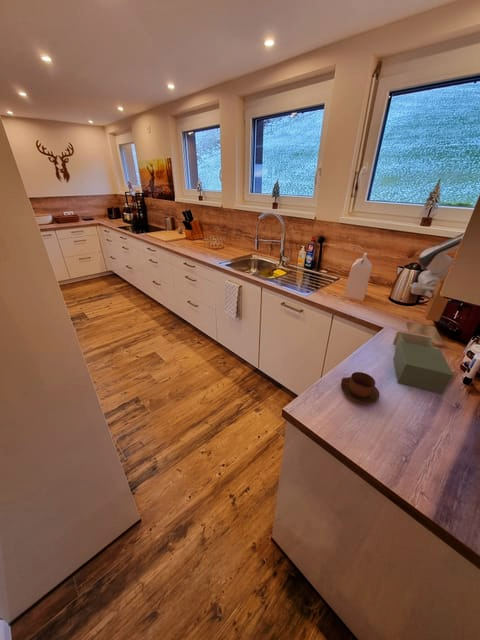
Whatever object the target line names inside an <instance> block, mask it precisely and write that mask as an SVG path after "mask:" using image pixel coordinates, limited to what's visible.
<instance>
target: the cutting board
mask: <svg viewBox="0 0 480 640" xmlns="http://www.w3.org/2000/svg"><path fill="white" fill-rule="evenodd" d="M406 327H407V329H408V332H411V333H416V334H420V335H425V336H430V337H431V343H432V345H433V347H436V348H441V349H444V348H445V347H446V344H445V342H444V341H443V339H442V337H441V335H440V333H439V331H438V329H437V328H436V326H435V325H429V324H423V323H418V322H412V321H407V322H406Z"/></svg>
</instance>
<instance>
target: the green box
mask: <svg viewBox="0 0 480 640" xmlns="http://www.w3.org/2000/svg"><path fill="white" fill-rule="evenodd" d="M392 360H393V361H392V362H393V365H394V370H395V371H394V372H395V376H396V380H397V384H399V385H403V386H407V387H411V388H414V389H415V388H416V389H419V390H423V391H426V392H430V393H435V394H438V395H443V394H444V392H445V391H446V389H447V387H448V385H449V383H450V382H451V380H452V378H453V376H454V373H453V372H452V370H451V367H450V366H449V364H448V361H447V359H446V358H445V355H444V354H443V351H442V349H439V348H435V347H434V348H430V347H426V346H421V345H416V344H411V343H406V342H401V341H400V342H399V345H398V348H397V350H396V349H395V353H394V356H393V358H392Z"/></svg>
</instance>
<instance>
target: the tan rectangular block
mask: <svg viewBox="0 0 480 640" xmlns="http://www.w3.org/2000/svg"><path fill="white" fill-rule="evenodd" d="M445 278H446V277H443V278H442V279H441V280H440V281H439V280H438V282H437V284H436V286H435V289H434V291H433V294H434V298H429V301H428V303H427V305H426V308H425V309H424V313H423V317H424V319H425V320H426V321H432V322H437V323H438V322H440V319H441V317H442V315H443V313H444V311H445V308H446V307H447V304H448V302H449V301H448V300H449V299H447V298H443V297H441V296H440V291H441V289H442V286H443V283H444V280H445Z"/></svg>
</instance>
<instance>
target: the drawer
mask: <svg viewBox="0 0 480 640" xmlns="http://www.w3.org/2000/svg"><path fill="white" fill-rule="evenodd" d="M400 341H401V342H406V343H411V344H416V345H421V346H426V347H430V348H435V346H433V345H432V343H431V337H430V336H425V335H420V334H416V333H411V332H409V331H405V330H398V329H397V330H396V333H395V335H394V337H393V340H392V344H391V345H392V346H394V347H395V351H396V350H397V348H398V345H399V342H400Z"/></svg>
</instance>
